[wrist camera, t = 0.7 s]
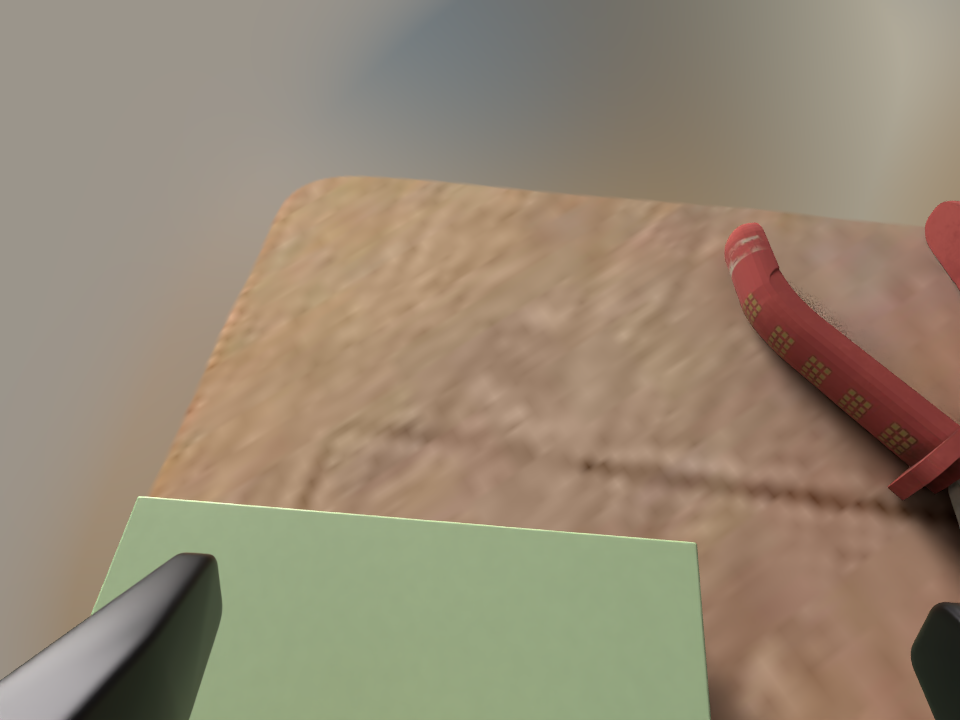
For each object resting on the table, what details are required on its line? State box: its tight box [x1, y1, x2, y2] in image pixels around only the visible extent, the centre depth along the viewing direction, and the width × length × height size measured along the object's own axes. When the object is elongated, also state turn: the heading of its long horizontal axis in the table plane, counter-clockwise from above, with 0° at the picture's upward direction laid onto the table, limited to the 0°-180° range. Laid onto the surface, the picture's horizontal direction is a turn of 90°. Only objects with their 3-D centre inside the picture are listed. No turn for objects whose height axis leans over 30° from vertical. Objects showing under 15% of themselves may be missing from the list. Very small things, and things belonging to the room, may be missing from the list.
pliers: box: [725, 201, 960, 527], centre depth 24 cm, size 12×20×3 cm, turn 6°
